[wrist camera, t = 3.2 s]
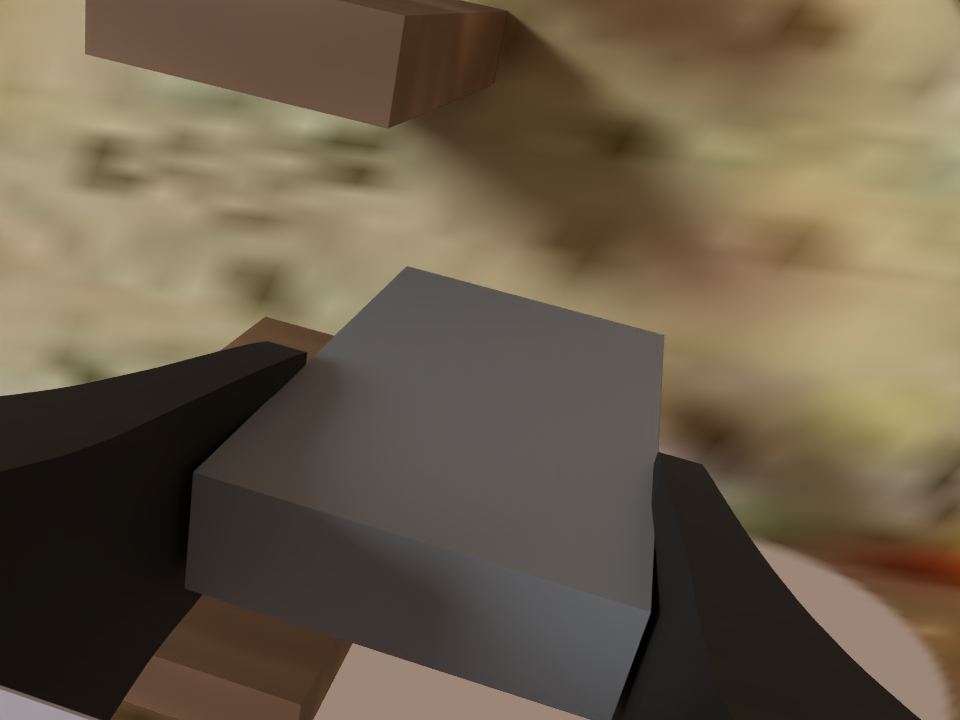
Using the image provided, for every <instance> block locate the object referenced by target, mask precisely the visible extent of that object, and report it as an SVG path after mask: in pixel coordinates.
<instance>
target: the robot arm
mask: <svg viewBox="0 0 960 720" xmlns="http://www.w3.org/2000/svg"><path fill="white" fill-rule="evenodd" d="M307 353H308V352H304V351H301V350H297V349H294V348H290V347H287V346H283V345H280V344H276V343H273V342H269V341H265V342H257V343H252V344H247V345H242V346H238V347H234V348H230V349H226V350H222V351H218V352H214V353H211V354H207V355H203V356H199V357H196V358H192V359H188V360H184V361H180V362H177V363H173V364H169V365H165V366H161V367H158V368H154V369H149V370H145V371H140V372H136V373H131V374H127V375H122V376H118V377H113V378H109V379H104V380H100V381H96V382H91V383H86V384H81V385H76V386H70V387H64V388H58V389H52V390H45V391H38V392H30V393H23V394H15V395H8V396H0V720H110V719H111V717H112V716H113V714H114V713H115V711H116V710H117V708H118V707H119V705H120V704H121V702H122V701H123V699H124V698H125V696H126V695H127V693H128V692H129V690H130V689H131V687H132V686H133V684H134V683H135V681H136V680H137V678H138V677H139V675H140V674H141V672H142V671H143V669H144V668H145V666H146V665H147V663H148V662H149V661H150V659H151V658H152V657H153V655H154V654H155V653H156V651H157V650H158V649H159V648H160V646H161V645H162V644H163V642H164V641H165V640H166V638H167V637H168V636H169V635H170V633H171V632H172V631H173V630H174V629H175V627H176V626H177V625H178V624H179V623H180V621H181V620H182V619H183V618H184V617H185V615H186V614H187V613H188V612H189V611H190V610H191V608H192V607H193V606H194V605H195V604H196V602H197V601H198V600H199V599H200V598H201V596H202V595H203V594H200V593H196V592H193V591H190V590H187V589H185V577H186V564H187V550H188V537H189V523H190V510H191V497H192V483H193V472H194V471H195V470H196V469H197V468H198V467H199V466H200V465H201V464H202V463H203V462H204V461H206V460H207V459H208V458H209V457H210V456H211V455H212V454H213V453H214V452H215V451H216V450H217V449H218V448H219V447H220V446H221V445H222V444H223V443H224V442H225V441H226V440H227V439H228V438H229V437H230V436H231V435H232V434H234V433H235V432H236V431H237V430H238V429H239V428H240V427H241V426H242V425H243V424H244V423H245V422H246V421H247V420H248V419H249V418H250V417H251V416H252V415H253V414H254V413H255V412H256V411H257V410H258V409H259V408H260V407H262V406H263V405H264V404H265V403H266V402H267V401H268V400H269V399H270V398H272V397H273V396H274V395H275V394H276V393H277V392H279V391H280V390H281V389H282V388H283V387H284V386H285V385H286V384H287V383H288V382H289V381H290V380H291V379H292V378H293V377H294V376H295V375H296V374H297V373H298V372H299V371H300V370H301V369H302V368H303V367H304V366H305V365H306V361H307ZM651 505H652V515H653V525H654V534H655V537H654V557H653V578H652V599H651V613H650V616H649V619H648V621H647V624H646V627H645V630H644V632H643V635H642V638H641V640H640V643H639V646H638V649H637V651H636V654H635V657H634V660H633V662H632V665H631V668H630V670H629V673H628V676H627V679H626V681H625V684H624V687H623V690H622V692H621V695H620V698H619V700H618V703H617V706H616V709H615V711H614V714H613V717H612V720H921V719H919V718H918V717H917V716H916V715H915V714H913V713H912V712H911V711H910V710H909V709H908V708H906V707H905V706H904V705H903V704H902V703H901V702H900V701H899V700H897V699H896V698H895V697H894V696H893V695H892V694H891V693H889V692H888V691H887V690H886V689H885V688H884V687H882V686H881V685H880V684H879V683H878V682H877V681H876V680H875V679H873V678H872V677H871V676H870V675H869V674H868V673H867V672H866V671H865V670H864V669H863V668H862V667H861V666H859V665H858V664H857V663H856V662H855V661H854V660H853V659H852V658H851V657H850V656H849V655H848V654H847V653H846V652H845V651H844V650H843V649H842V648H841V647H840V646H839V645H838V644H837V643H836V642H835V640H834V639H832V637H831V636H830V635H829V634H828V633H827V632H826V631H825V630H824V629H823V628H822V627H821V626H820V625H819V624H818V623H817V622H816V621H815V620H814V618H812V616H811V615H810V614H809V613H808V612H807V611H806V609H805V608H804V607H803V606H802V605H801V604H800V603H799V601H798V600H797V599H796V598H795V596H794V595H793V594H792V593H791V591H790V590H789V589H788V588H787V586H786V585H785V584H784V583H783V582H782V580H781V579H780V578H779V576H778V575H777V574H776V573H775V572H774V570H773V569H772V568H771V566H770V565H769V563H768V562H767V561H766V559H765V558H764V557H763V555H762V554H761V553H760V551H759V550H758V548H757V547H756V546H755V544H754V543H753V541H752V540H751V538H750V537H749V536H748V534H747V533H746V531H745V530H744V528H743V527H742V525H741V524H740V522H739V521H738V519H737V518H736V516H735V515H734V513H733V511H732V510H731V508H730V507H729V505H728V504H727V502H726V500H725V499H724V497H723V496H722V494H721V493H720V491H719V489H718V488H717V486H716V484H715V483H714V481H713V480H712V478H711V477H710V475H709V473H708V472H707V470H706V469H705V468H704V466H703V465H702V464H699V463H695V462H692V461H688V460H684V459H681V458H677V457H674V456H670V455H667V454H663V453H660V452H658V453H657V456H656V459H655V462H654V467H653V484H652V502H651Z"/></svg>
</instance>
